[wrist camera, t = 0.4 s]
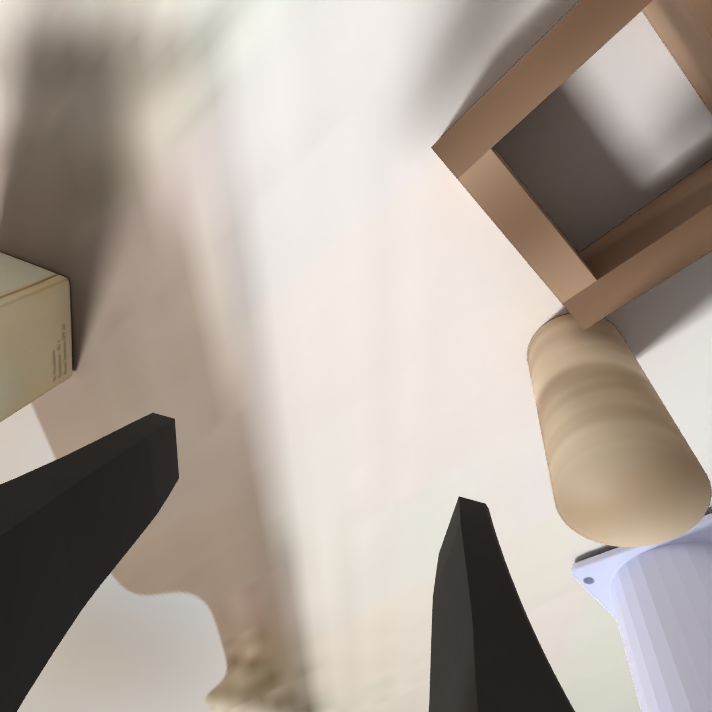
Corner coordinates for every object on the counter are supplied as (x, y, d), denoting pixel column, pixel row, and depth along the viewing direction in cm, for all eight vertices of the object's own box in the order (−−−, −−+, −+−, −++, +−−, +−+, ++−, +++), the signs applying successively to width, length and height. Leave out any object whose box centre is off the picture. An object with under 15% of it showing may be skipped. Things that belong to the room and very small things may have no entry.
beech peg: (642, 360, 18) (741, 515, 12) (560, 405, 20) (603, 563, 13) (589, 294, 18) (660, 418, 11) (508, 347, 19) (526, 482, 13)
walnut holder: (794, 145, 14) (864, 155, 12) (568, 296, 18) (583, 330, 15) (654, -75, 13) (699, -119, 10) (438, 139, 16) (431, 147, 14)
